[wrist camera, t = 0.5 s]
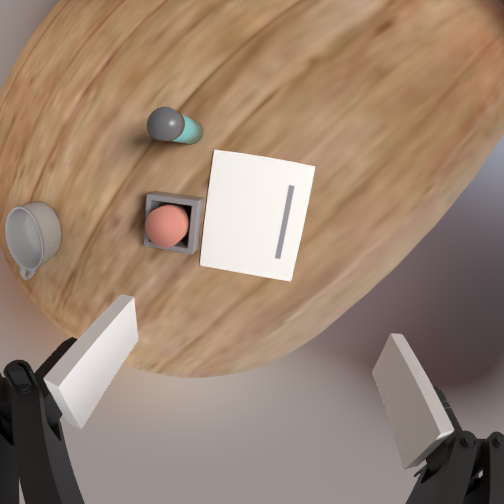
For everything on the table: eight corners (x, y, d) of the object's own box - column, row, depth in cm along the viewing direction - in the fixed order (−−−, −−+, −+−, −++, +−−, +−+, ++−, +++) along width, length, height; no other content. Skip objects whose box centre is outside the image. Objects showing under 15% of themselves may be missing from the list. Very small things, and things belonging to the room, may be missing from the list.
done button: (157, 200, 34) (146, 205, 31) (192, 205, 34) (184, 210, 31) (154, 236, 36) (144, 243, 32) (188, 242, 36) (181, 250, 32)
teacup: (42, 186, 36) (11, 194, 28) (77, 220, 38) (46, 233, 30) (26, 245, 40) (0, 259, 33) (58, 278, 42) (32, 297, 34)
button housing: (156, 191, 35) (146, 194, 32) (204, 197, 35) (198, 201, 32) (152, 239, 38) (144, 245, 35) (198, 247, 37) (192, 254, 35)
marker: (181, 119, 32) (149, 106, 22) (205, 121, 32) (181, 107, 22) (177, 143, 33) (144, 139, 24) (201, 146, 33) (175, 140, 24)
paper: (214, 149, 33) (214, 149, 33) (315, 166, 33) (315, 166, 33) (200, 264, 38) (199, 265, 38) (290, 280, 38) (290, 281, 38)
